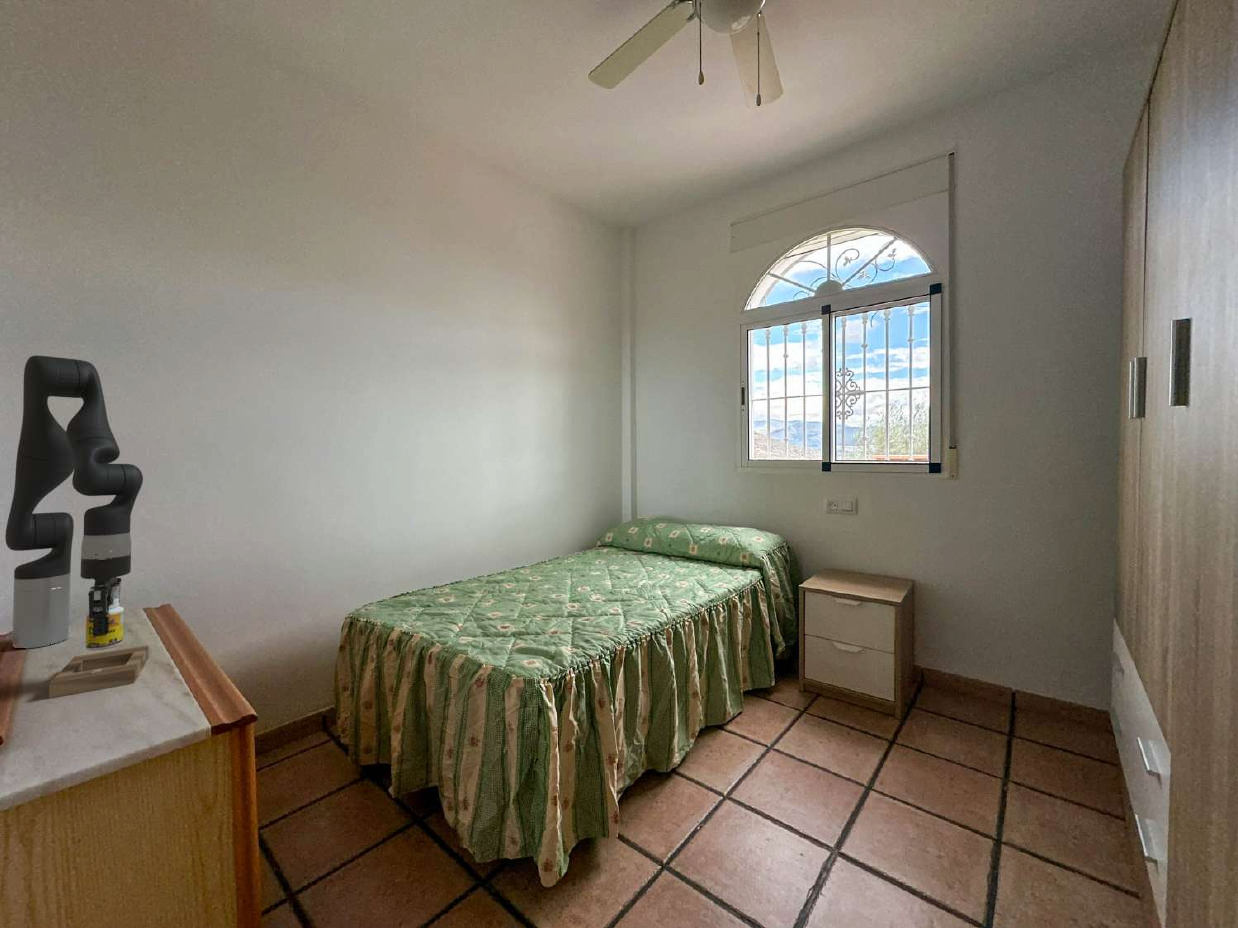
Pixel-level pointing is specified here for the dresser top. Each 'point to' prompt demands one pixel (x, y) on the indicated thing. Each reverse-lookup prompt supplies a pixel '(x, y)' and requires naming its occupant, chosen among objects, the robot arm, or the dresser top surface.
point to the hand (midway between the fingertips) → (104, 630)
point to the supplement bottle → (114, 632)
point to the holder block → (99, 671)
